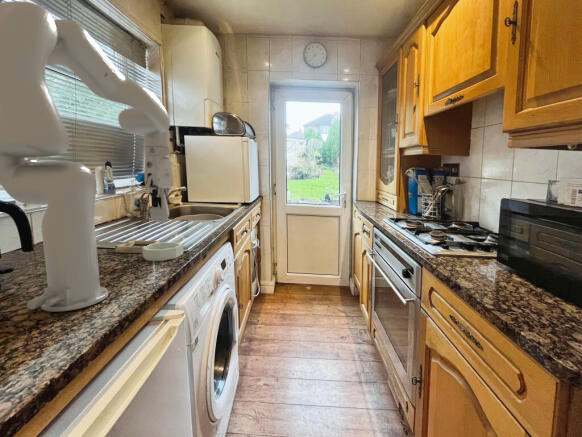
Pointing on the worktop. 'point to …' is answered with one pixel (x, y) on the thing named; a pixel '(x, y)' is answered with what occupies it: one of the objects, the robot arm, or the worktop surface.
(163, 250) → the holder ring
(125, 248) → the tray
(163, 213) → the salt shaker
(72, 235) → the robot arm
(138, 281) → the worktop surface
